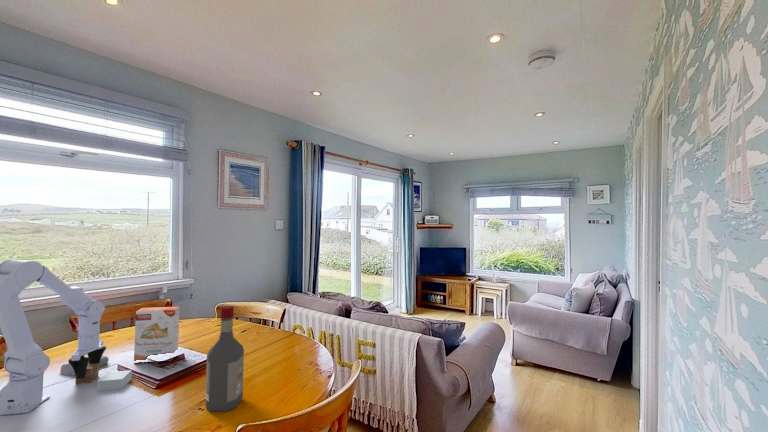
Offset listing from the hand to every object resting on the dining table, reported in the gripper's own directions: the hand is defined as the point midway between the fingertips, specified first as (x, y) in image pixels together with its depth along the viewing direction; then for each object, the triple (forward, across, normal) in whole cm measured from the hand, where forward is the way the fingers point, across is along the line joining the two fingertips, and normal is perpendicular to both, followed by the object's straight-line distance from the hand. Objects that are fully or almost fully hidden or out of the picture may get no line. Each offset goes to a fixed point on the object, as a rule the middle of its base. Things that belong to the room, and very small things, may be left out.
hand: (87, 373), depth 119 cm
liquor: (+3, -26, -50) cm, 56 cm away
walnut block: (+2, 0, 0) cm, 3 cm away
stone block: (+3, +12, +7) cm, 14 cm away
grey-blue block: (+3, -6, -11) cm, 13 cm away
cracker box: (+3, +15, -16) cm, 22 cm away
